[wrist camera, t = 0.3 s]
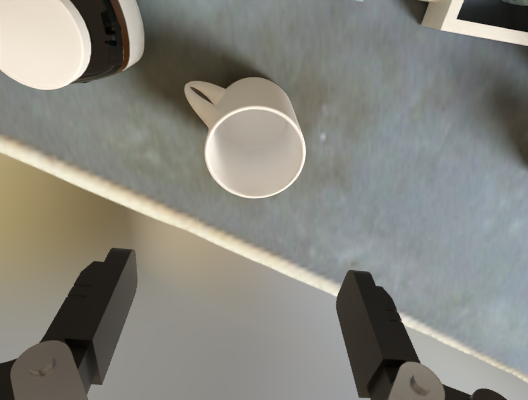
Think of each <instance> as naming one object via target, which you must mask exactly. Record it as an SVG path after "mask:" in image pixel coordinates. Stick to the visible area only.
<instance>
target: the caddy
mask: <svg viewBox="0 0 528 400" xmlns="http://www.w3.org/2000/svg"><path fill="white" fill-rule="evenodd" d="M355 1H363V2H364V0H355ZM420 1H426V2H429V4H428V7H427V10H426V13H425V15H424V18H423V21H422V24H421V26H425V27H429V28H434V29H438V30H443V31H449V32H454V33H460V34H465V35H471V36H476V37H482V38H487V39H493V40H498V41H504V42H509V43H515V44H520V45H526V46H528V33H527V32H522V31H517V30H511V29H506V28H500V27H495V26H490V25H484V24H479V23H474V22H468V21H463V20H458V19H456V18H457V16H458V14H459V11H460V9H461V6H462V4H463V1H464V0H420Z"/></svg>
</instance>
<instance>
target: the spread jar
mask: <svg viewBox="0 0 528 400" xmlns="http://www.w3.org/2000/svg"><path fill="white" fill-rule="evenodd" d="M143 52H144V28H143V22H142V18H141V14H140V11H139V8H138V5H137V2H136V0H0V70H1V71H3V72H4V73H5V74H7V75H8V76H9V77H11V78H12V79H14V80H16V81H18V82H19V83H21V84H24V85H26V86H29V87H33V88H37V89H46V90H51V89H57V88H60V87H63V86H65V85H67V84H75V83H86V82H90V81H93V80H97V79H101V78H105V77H108V76H111V75H114V74H117V73H119V72H121V71H124V70H125V69H127V68H128V67H130V66H131V65H133V64H134V63H136V62H137V61H139V60H140V58H141V57H142V55H143Z"/></svg>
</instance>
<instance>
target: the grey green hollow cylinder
mask: <svg viewBox="0 0 528 400" xmlns="http://www.w3.org/2000/svg"><path fill="white" fill-rule="evenodd" d="M501 1H503V2H505V3H509V4H515V5H522V6H528V0H501Z"/></svg>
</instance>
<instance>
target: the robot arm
mask: <svg viewBox="0 0 528 400" xmlns="http://www.w3.org/2000/svg"><path fill="white" fill-rule="evenodd" d="M136 288H137V267H136V254H135V250H131V249H119V248H112V249H111V250H110V252H109V253H108V255H107V257H106V259H105V261H104V262H98V261H94V262H92V263H91V264H90V265H89V266H87V268H85V269H84V270H83V271H82V272H81V273H80V275H79V277H78V278H77V280H76V282H75V283H74V287H72V289H71V290H70V292H69V294H68V297H66V299H65V301H64V303H63V304H62V306H61V308H60V309H59V311H58V313H57V315H56V316H55V318H54V320H53V321H52V323H51V325H50V327H49V328H48V330H47V332H46V334H45V335H44V337H43V338H42V340H41V341H40V342H39V344H36V345H34V346H32V347H30V348H29V349H27V350H26V351H25V352H23V353H22V354H21V355H20V356H19V357H18V358H17V359H14V360H12V361H8V362H5V363H0V400H88V398H87V393H88V391H89V388H90V386H91V384H98V385H102V383H103V381H104V378H105V375H106V372H107V370H108V367H109V364H110V362H111V359H112V356H113V353H114V351H115V348H116V345H117V343H118V340H119V337H120V334H121V332H122V329H123V326H124V323H125V321H126V318H127V315H128V312H129V310H130V307H131V304H132V302H133V298H134V296H135V292H136ZM336 309H337V314H338V318H339V321H340V326H341V330H342V334H343V338H344V341H345V345H346V349H347V353H348V357H349V360H350V365H351V368H352V372H353V376H354V380H355V384H356V388H357V391H358V396H359V398H371V400H507V399H506V398H504V397H503V396H501V395H500V394H498V393H496V392H494V391H492V390H489V389H478V390H476V391H475V392H474V393H473V394H472V395H469V394H466V393H464V392H461V391H459V390H456V389H453V388H451V387H448V386H446V385H444V384H442V383H441V381H440V380H439V378H438V377H437V376H436V375H435V374H434V372H432V371H431V370H430V369H429V368H427V367H426V366H424V365H422V364H421V363H420V361H419V359H418V357H417V354H416V352H415V350H414V348H413V345H412V343H411V340H410V338H409V336H408V334H407V331H406V329H405V327H404V325H403V323H402V322H401V321H402V320H401V318H400V316H399V313H397V309H396V306H395V304H394V302H393V300H392V298H391V297H390V295H389V294H388V293H387V292H386V291H385V290H384V289H383V287H380V286H376V285H375V283H374V280H373V278H372V275H371V274H370V273H369V272H366V271H355V270H349V271H348V272H347V274H346V276H345V279H344V281H343V284H342V286H341V288H340V291H339V293H338V296H337V301H336Z"/></svg>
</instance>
